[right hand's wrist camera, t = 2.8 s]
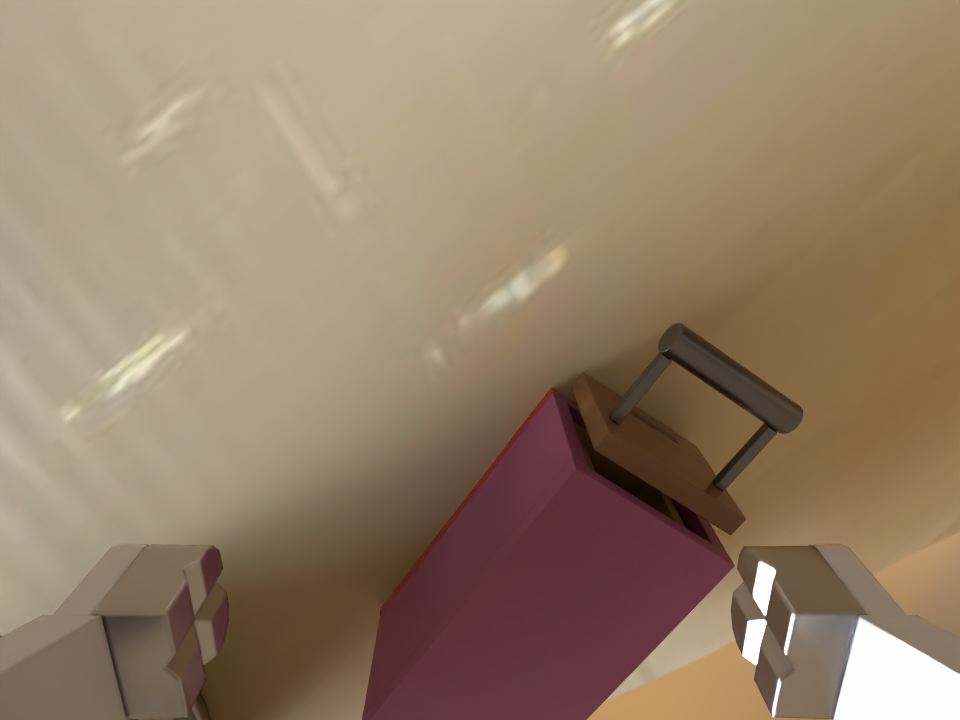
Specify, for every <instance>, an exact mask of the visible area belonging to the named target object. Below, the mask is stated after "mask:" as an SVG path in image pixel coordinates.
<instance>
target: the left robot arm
mask: <svg viewBox="0 0 960 720" xmlns="http://www.w3.org/2000/svg"><path fill="white" fill-rule="evenodd" d="M0 637H2V636H1V635H0ZM127 720H209V717H208V712H207V709H206V706H205V704H204V702H203V700H202V698H201V696H200V694H199V695H198V697H197V699H196V701H195V703H194V705H193V707H192V709H191V711H190V713H189V715H188V717H178V718H144V719H127Z"/></svg>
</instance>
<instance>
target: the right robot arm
mask: <svg viewBox="0 0 960 720" xmlns="http://www.w3.org/2000/svg"><path fill="white" fill-rule="evenodd" d="M222 569H223V566H222V561H221V556H220V552H219V550H218V549H217V548H216V547H215V546H206V545H160V544H151V545H147V544H119V545H116V546H113V547H111V548H110V549H109V550H108V551H107V552H106V554H105V555H104V556H103V557H102V558H101V559H100V561H99V562H98V563H97V564H96V565H95V567H94V568H93V569H92V570H91V571H90V572H89V574H88V575H87V576H86V577H85V578H84V579H83V581H82V582H81V583H80V584H79V585H78V586H77V588H76V589H75V590H74V591H73V592H72V593H71V595H70V596H69V597H68V598H67V599H66V601H65V602H64V603H63V604H62V605H61V606H60V608H59V609H58V610H57V611H56V612H55V613H54V615H45V616H40V617H38V618H37V619H35V620H33V621H31V622H29V623H27V624H25V625H23V626H21V627H19V628H18V629H16V630H14V631H12V632H10V633H8V634H6V635H4V636H2V637H0V720H127V719H144V718H178V717H188V715H189V713H190V711H191V709H192V707H193V705H194V703H195V701H196V699H197V697H198V695H199V693H200V691H201V689H202V687H203V684H204V682H205V680H206V677H205V671H204V665H205V664H207V663H208V662H209V661H211V660H212V659H214V658H215V657H216V656H217V655H218V653H219V651H220V649H221V647H222V644H223V642H224V640H225V635H226V630H227V626H228V621H229V604H228V597H227V592H226V591H225V590H224V589H223V588H222V587H221V586H220V585H219V584H218V583H217V582H216V580H217V578H218V577H219V575H220V573H221V571H222ZM737 569H738V571H739V573H740V575H741V577H742V578H743V580H744V582H743V583H742V584H741V585H740V586H739V587H738V588H737V589H736V590H735V591H734V592H733V598H732V606H731V616H732V627H733V632H734V635H735V639H736V642H737V645H738V647H739V649H740V651H741V653H742V655H743V656H744V657H745V658H746V659H748V660H749V661H751V662H752V663H753V664H755V665H756V672H755V677H754V680H755V682H756V684H757V686H758V689H759V691H760V693H761V695H762V697H763V699H764V701H765V703H766V705H767V707H768V709H769V711H770V713H771V715H772V717H781V718H815V719H833V720H960V638H959V637H958V636H956V635H954V634H952V633H950V632H948V631H946V630H944V629H942V628H941V627H939V626H937V625H935V624H933V623H931V622H929V621H927V620H925V619H923V618H921V617H920V616H915V615H914V616H913V615H906V613H905V612H904V611H903V610H902V609H901V608H900V606H899V605H898V604H897V603H896V602H895V601H894V599H893V598H892V597H891V596H890V595H889V594H888V592H887V591H886V590H885V589H884V588H883V587H882V585H881V584H880V583H879V582H878V581H877V579H876V578H875V577H874V576H873V575H872V574H871V572H870V571H869V570H868V569H867V568H866V567H865V565H864V564H863V563H862V562H861V561H860V560H859V558H858V557H857V556H856V555H855V554H854V553H853V551H852V550H851V549H850V548H849V547H847V546H845V545H843V544H819V545H808V546H744V547H743V549H742V551H741V553H740V555H739V560H738V566H737Z"/></svg>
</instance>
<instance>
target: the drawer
mask: <svg viewBox="0 0 960 720" xmlns="http://www.w3.org/2000/svg"><path fill="white" fill-rule="evenodd" d="M658 349H659V351H660V352H659V353H658V355H657V356H656V357H655V358H654V360H653V361H652V362H651V363H650V365H649V366H648V367H647V368H646V369H645V371H644V372H643V373H642V374H641V376H640V377H639V378H638V379H637V380H636V382H635V383H634V384H633V385H632V387H631V388H630V389H629V390H628V392H627V393H626V394H625V395H624V396H623V398H621V397H620V396H618V395H617V394H615V393H614V392H612V391H611V390H609V389H607V388H606V387H604V386H603V385H601V384H600V383H598V382H597V381H595V380H594V379H592V378H591V377H589V376H588V375H586V374H584V373H582V374H581V376H580V377H579V378H578V380H577V381H576V382H575V383H574V385H573V386H572V387H571V389H572V392H573V394H574V397H575V400H576V402H577V405H578V408H579V410H580V413H581V416H582V418H583V421H584V424H585V426H586V429H587V430H586V429H584V428H583V427H581V426H579V425H578V424H576V423H575V422H574V425H575V428H576V431H577V434H578V437H579V440H580V443H581V446H582V448H583V451H584V454H585V457H586V460H587V463H588V466H589V468H590V469H591V470H593V471H594V472H596V473H598V474H599V475H601V476H603V477H604V478H606V479H607V480H609V481H611V482H612V483H614V484H616V485H617V486H619V487H620V488H622V489H624V490H625V491H627V492H629V493H630V494H632V495H633V496H635V497H637V498H638V499H640V500H642V501H643V502H645V503H646V504H648V505H650V506H651V507H653V508H654V509H656V510H658V511H659V512H661V513H663V514H664V515H666V516H667V517H669V518H671V519H672V520H674V521H676V522H677V523H679V524H680V525H682V526H684V527H685V525H684V523H683V521H682V519H681V517H680V515H679V513H678V511H677V510H676V508H675V506H674V504H673V502H672V500H671V498H672V499H673V500H675V501H677V502H678V503H680V504H681V505H683V506H685V507H686V508H688V509H689V510H691V511H693V512H694V513H696V514H697V515H699V516H701V517H702V518H704V519H705V520H707V521H709V522H710V523H712V524H713V525H715V526H717V527H718V528H720V529H721V530H723V531H725V532H726V533H728V534H729V535H731V534H732V533H733V532H734V531H735V530H736V529H737V528H738V527H739V526H740V525H741V524H742V523H743V522H744V521H745V520H746V518H745V517H744V515H743V514H742V512H741V511H740V509H739V508H738V507H737V505H736V504H735V502H734V501H733V499H732V498H731V496H730V495H729V493H728V492H727V490H726V488H727V487H728V486H729V485H730V484H731V483H732V482H733V480H734V479H735V478H736V477H737V476H738V475H739V474H740V473H741V472H742V471H743V470H744V468H745V467H746V466H747V465H748V464H749V463H750V462H751V461H752V460H753V459H754V458H755V456H756V455H757V454H758V453H759V452H760V451H761V450H762V449H763V448H764V447H765V446H766V444H767V443H768V442H769V441H770V440H771V439H772V438H773V437H774V436H775V435H776V434H777V432H779V433H781V434H786V433H789V432H791V431H793V430H794V429H795V428H796V427H797V426H798V425H799V424H800V422H801V420H802V417H803V410H802V408H801V407H800V406H799V405H797V404H796V403H795V402H793V401H792V400H790V399H789V398H787V397H786V396H785V395H783V394H782V393H780V392H779V391H777V390H776V389H775V388H773V387H772V386H770V385H769V384H767V383H766V382H765V381H763V380H762V379H760V378H759V377H757V376H756V375H755V374H753V373H752V372H750V371H749V370H747V369H746V368H744V367H743V366H742V365H740V364H739V363H737V362H736V361H734V360H733V359H732V358H730V357H729V356H727V355H726V354H724V353H723V352H722V351H720V350H719V349H717V348H716V347H714V346H713V345H712V344H710V343H709V342H707V341H706V340H704V339H703V338H702V337H700V336H699V335H697V334H696V333H694V332H693V331H692V330H690V329H689V328H687V327H686V326H684V325H683V324H682V323H675V324H673V325H672V326H671V327H669V328H668V329H667V330H666V332H665V333H664V334H663V336H662V337H661V339H660V342H659V345H658ZM672 360H673V361H674V362H676V363H677V364H679V365H680V366H682V367H683V368H685V369H686V370H688V371H689V372H690V373H692V374H693V375H695V376H696V377H698V378H699V379H701V380H702V381H704V382H705V383H707V384H708V385H710V386H711V387H712V388H714V389H715V390H717V391H718V392H720V393H721V394H723V395H724V396H726V397H727V398H729V399H730V400H732V401H733V402H734V403H736V404H737V405H739V406H740V407H742V408H743V409H745V410H746V411H748V412H749V413H751V414H752V415H754V416H755V417H757V418H758V419H759V420H761V421H762V422H764V424H763V425H762V426H761V427H760V428H759V430H758V431H757V432H756V433H755V434H754V435H753V436H752V437H751V438H750V440H749V441H748V442H747V443H746V444H745V445H744V446H743V447H742V448H741V449H740V451H739V452H738V453H737V454H736V455H735V456H734V457H733V458H732V459H731V461H730V462H729V463H728V464H727V465H726V466H725V467H724V468H723V469H722V470H721V472H720V473H719V474H718V475H717V476H716V474H715V473H714V471H713V470H712V468H711V467H710V465H709V464H708V463H707V461H706V460H705V458H704V457H703V455H702V454H701V452H700V451H699V449H698V448H697V447H696V446H695V445H693V444H692V443H690V442H689V441H687V440H686V439H684V438H683V437H681V436H680V435H678V434H676V433H675V432H673V431H672V430H670V429H669V428H667V427H666V426H664V425H663V424H661V423H660V422H658V421H657V420H655V419H653V418H652V417H650V416H649V415H647V414H646V413H644V412H643V411H641V410H640V409H638V408H637V407H635V405H636V404H637V403H638V402H639V400H640V399H641V398H642V397H643V396H644V394H645V393H646V392H647V391H648V390H649V388H650V387H651V386H652V385H653V383H654V382H655V381H656V380H657V379H658V377H659V376H660V375H661V374H662V373H663V371H664V370H665V369H666V368H667V367H668V365H669V364H670V363H671V362H672ZM775 430H776V431H777V432H776V431H775ZM685 528H686V527H685Z"/></svg>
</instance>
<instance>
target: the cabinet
mask: <svg viewBox="0 0 960 720" xmlns="http://www.w3.org/2000/svg"><path fill="white" fill-rule="evenodd" d="M574 422H575V423H576V424H578V425H579V426H581V427H583V428H584V429H586V426H585V424H584V421H583V418H582V416H581V413H580V410H579V408H578V405H577V404H576V403H574V402H573V401H571V400H569V399H568V398H566V397H565V396H563V395H562V394H560V393H558V392H557V391H555V390H554V389H553V388H551V389H550V390H549V391H548V393H547V394H546V395H545V397H544V398H543V399H542V401H541V402H540V403H539V404H538V406H537V407H536V408H535V410H534V411H533V412H532V413H531V415H530V416H529V417H528V419H527V420H526V421H525V423H524V424H523V425H522V426H521V428H520V429H519V430H518V432H517V433H516V434H515V435H514V437H513V438H512V439H511V441H510V442H509V443H508V445H507V446H506V447H505V448H504V450H503V451H502V452H501V454H500V455H499V456H498V458H497V459H496V460H495V461H494V463H493V464H492V465H491V467H490V468H489V469H488V470H487V472H486V473H485V474H484V476H483V477H482V478H481V480H480V481H479V482H478V483H477V485H476V486H475V487H474V489H473V490H472V491H471V492H470V494H469V495H468V496H467V498H466V499H465V500H464V502H463V503H462V504H461V505H460V507H459V508H458V509H457V511H456V512H455V513H454V515H453V516H452V517H451V518H450V520H449V521H448V522H447V524H446V525H445V526H444V527H443V529H442V530H441V531H440V533H439V534H438V535H437V537H436V538H435V539H434V540H433V542H432V543H431V544H430V546H429V547H428V548H427V550H426V551H425V552H424V553H423V555H422V556H421V557H420V559H419V560H418V561H417V562H416V564H415V565H414V566H413V568H412V569H411V570H410V572H409V573H408V574H407V575H406V577H405V578H404V579H403V581H402V582H401V583H400V584H399V586H398V587H397V588H396V590H395V591H394V592H393V594H392V595H391V596H390V597H389V599H388V600H387V601H386V603H385V604H384V605H383V607H382V608H381V612H380V620H379V626H378V631H377V637H376V643H375V649H374V654H373V660H372V666H371V672H370V677H369V683H368V689H367V695H366V700H365V706H364V712H363V717H362V720H587V718H588V717H589V716H590V715H591V714H592V713H593V712H594V711H595V710H596V709H597V708H598V707H599V706H600V705H601V704H602V703H603V702H604V701H605V700H606V699H607V698H608V697H609V696H610V695H611V694H612V693H613V692H614V691H615V690H616V688H617V687H618V686H619V685H620V684H621V683H622V682H623V681H624V680H625V679H626V678H627V677H628V676H629V675H630V674H631V673H632V672H633V671H634V670H635V669H636V668H637V667H638V666H639V665H640V664H641V663H642V662H643V660H644V659H645V658H646V657H647V656H648V655H649V654H650V653H651V652H652V651H653V650H654V649H655V648H656V647H657V646H658V645H659V644H660V643H661V642H662V641H663V640H664V639H665V638H666V637H667V636H668V635H669V634H670V633H671V631H672V630H673V629H674V628H675V627H676V626H677V625H678V624H679V623H680V622H681V621H682V620H683V619H684V618H685V617H686V616H687V615H688V614H689V613H690V612H691V611H692V610H693V609H694V608H695V607H696V606H697V605H698V603H699V602H700V601H701V600H702V599H703V598H704V597H705V596H706V595H707V594H708V593H709V592H710V591H711V590H712V589H713V588H714V587H715V586H716V585H717V584H718V583H719V582H720V581H721V580H722V579H723V578H724V577H725V576H726V574H727V573H728V572H729V571H730V570H731V569H732V568H733V567H734V564H733V562H732V560H731V559H730V557H729V555H728V554H727V552H726V550H725V549H724V547H723V545H722V544H721V542H720V540H719V538H718V537H717V535H716V533H715V532H714V530H713V528H712V526H711V525H710V523H709V521H707V520H705V519H704V518H702V517H701V516H699V515H697V514H696V513H694V512H693V511H691V510H689V509H688V508H686V507H685V506H683V505H681V504H680V503H678V502H677V501H675V500H673V499H672V498H671V500H672V502H673V504H674V506H675V508H676V510H677V511H678V513H679V515H680V517H681V519H682V521H683V523H684V525H685V527H686V528H685V527H684V526H682V525H680V524H679V523H677V522H676V521H674V520H672V519H671V518H669V517H667V516H666V515H664V514H663V513H661V512H659V511H658V510H656V509H654V508H653V507H651V506H650V505H648V504H646V503H645V502H643V501H642V500H640V499H638V498H637V497H635V496H633V495H632V494H630V493H629V492H627V491H625V490H624V489H622V488H620V487H619V486H617V485H616V484H614V483H612V482H611V481H609V480H607V479H606V478H604V477H603V476H601V475H599V474H598V473H596V472H594V471H593V470H591V469H590V468H589V466H588V463H587V460H586V457H585V454H584V451H583V448H582V446H581V443H580V440H579V437H578V434H577V431H576V428H575V425H574ZM586 430H587V429H586Z"/></svg>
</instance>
